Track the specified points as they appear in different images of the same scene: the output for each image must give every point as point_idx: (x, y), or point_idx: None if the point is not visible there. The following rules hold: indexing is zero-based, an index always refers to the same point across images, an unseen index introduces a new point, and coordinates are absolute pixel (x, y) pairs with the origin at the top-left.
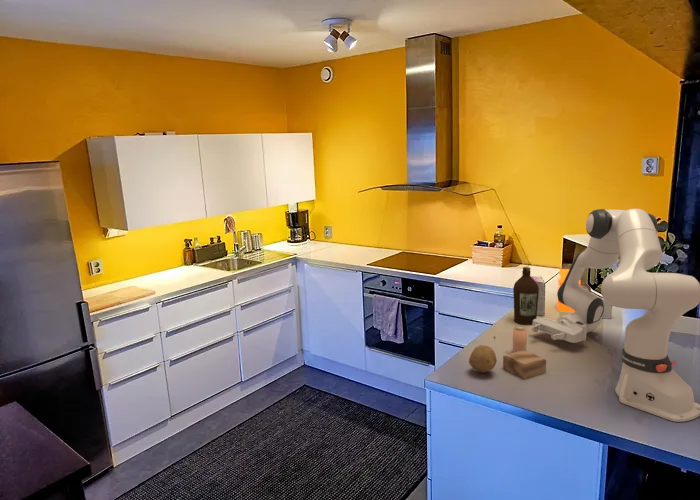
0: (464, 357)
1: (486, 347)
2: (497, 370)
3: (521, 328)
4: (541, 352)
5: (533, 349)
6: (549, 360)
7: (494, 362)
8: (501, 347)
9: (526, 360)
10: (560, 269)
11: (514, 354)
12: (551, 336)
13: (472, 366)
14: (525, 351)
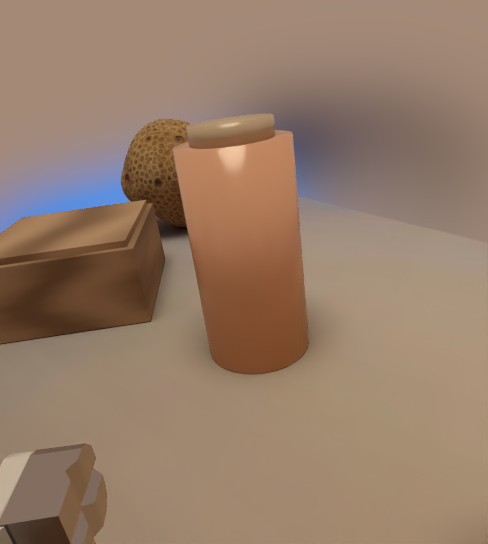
0: (325, 214)
1: (149, 123)
2: (165, 247)
3: (196, 124)
4: (185, 485)
5: (287, 461)
6: (28, 445)
7: (122, 180)
8: (404, 308)
9: (37, 225)
10: None
11: (121, 214)
12: (87, 463)
13: None
14: (102, 239)
